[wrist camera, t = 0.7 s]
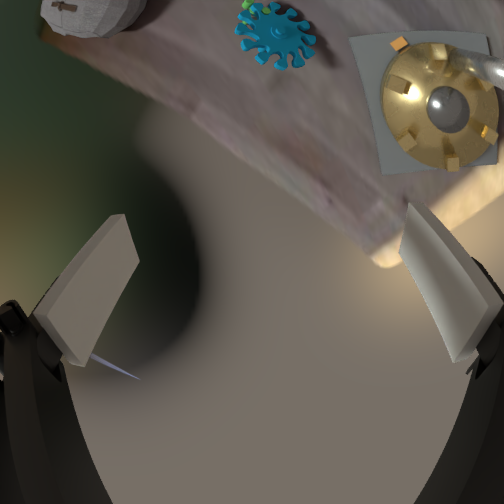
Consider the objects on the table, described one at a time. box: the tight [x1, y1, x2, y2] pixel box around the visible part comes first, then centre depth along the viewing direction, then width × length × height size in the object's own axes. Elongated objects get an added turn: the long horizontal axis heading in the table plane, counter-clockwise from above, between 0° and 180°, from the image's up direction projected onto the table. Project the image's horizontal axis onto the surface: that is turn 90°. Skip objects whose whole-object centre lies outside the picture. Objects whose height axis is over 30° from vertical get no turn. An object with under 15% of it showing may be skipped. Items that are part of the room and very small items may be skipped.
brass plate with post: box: [380, 42, 504, 172], centre depth 21 cm, size 17×17×15 cm
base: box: [348, 31, 498, 176], centre depth 27 cm, size 20×20×2 cm
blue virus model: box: [235, 0, 316, 70], centre depth 26 cm, size 11×6×10 cm
